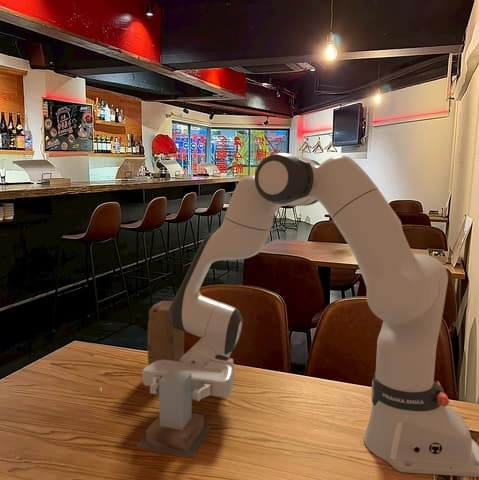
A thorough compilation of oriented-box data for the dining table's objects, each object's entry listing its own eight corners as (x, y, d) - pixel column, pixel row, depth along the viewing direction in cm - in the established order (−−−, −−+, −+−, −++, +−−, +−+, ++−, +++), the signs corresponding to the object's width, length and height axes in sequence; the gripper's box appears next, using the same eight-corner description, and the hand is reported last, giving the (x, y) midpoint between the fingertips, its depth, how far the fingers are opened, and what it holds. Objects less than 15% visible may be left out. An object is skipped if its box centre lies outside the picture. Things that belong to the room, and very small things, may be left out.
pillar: (191, 417, 100) (191, 373, 98) (182, 430, 95) (181, 383, 94) (170, 414, 101) (169, 370, 100) (159, 426, 96) (159, 380, 95)
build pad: (212, 426, 103) (212, 425, 103) (191, 458, 91) (191, 457, 91) (162, 418, 106) (162, 416, 106) (136, 448, 95) (136, 446, 95)
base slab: (203, 427, 102) (203, 414, 101) (187, 451, 93) (187, 437, 93) (165, 421, 104) (165, 408, 104) (146, 443, 96) (146, 429, 95)
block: (171, 383, 123) (170, 310, 120) (145, 379, 125) (143, 307, 122) (187, 367, 133) (187, 299, 130) (163, 363, 136) (162, 296, 133)
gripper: (157, 349, 112) (128, 372, 99) (239, 359, 106) (220, 386, 93) (157, 374, 113) (129, 401, 100) (239, 385, 107) (220, 415, 94)
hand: (173, 394), depth 96 cm, fingers open, 8 cm apart
